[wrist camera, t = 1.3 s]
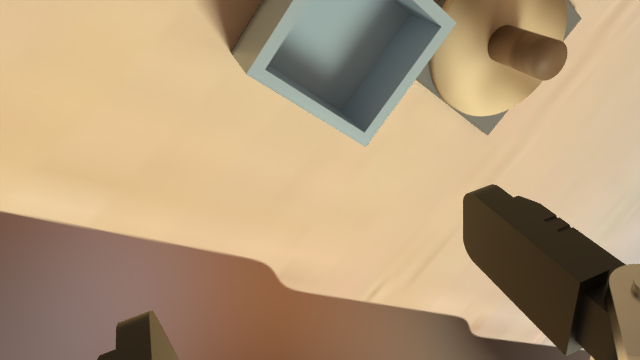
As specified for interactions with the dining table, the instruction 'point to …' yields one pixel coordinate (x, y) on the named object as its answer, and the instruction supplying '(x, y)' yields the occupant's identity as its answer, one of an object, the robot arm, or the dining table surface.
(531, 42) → the lid
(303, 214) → the dining table surface
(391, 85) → the pale blue open box
